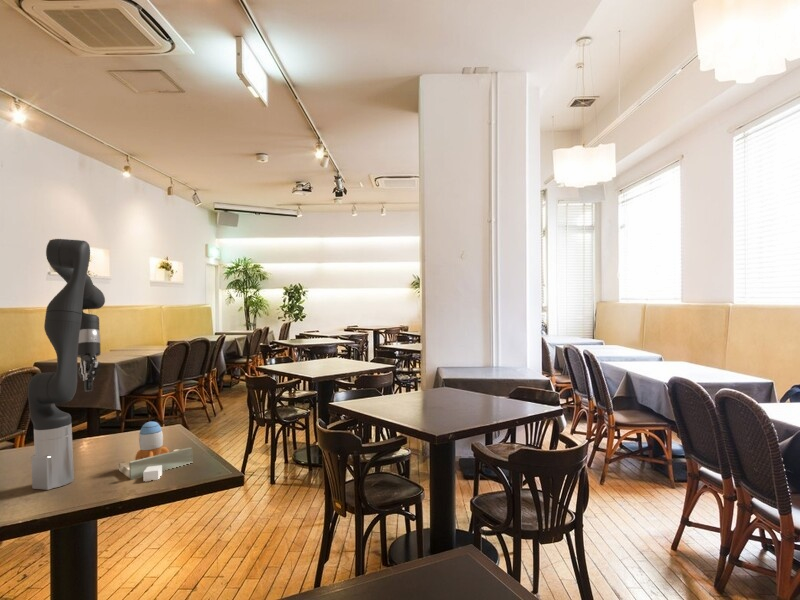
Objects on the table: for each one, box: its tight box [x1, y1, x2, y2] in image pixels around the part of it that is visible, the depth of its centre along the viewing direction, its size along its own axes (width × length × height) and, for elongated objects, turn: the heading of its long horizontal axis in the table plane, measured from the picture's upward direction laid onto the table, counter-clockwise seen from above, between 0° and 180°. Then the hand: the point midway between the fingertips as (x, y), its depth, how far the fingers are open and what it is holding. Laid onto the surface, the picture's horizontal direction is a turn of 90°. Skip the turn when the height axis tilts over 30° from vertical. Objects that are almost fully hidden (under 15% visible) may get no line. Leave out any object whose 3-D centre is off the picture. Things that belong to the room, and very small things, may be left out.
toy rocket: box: [134, 421, 170, 461], centre depth 158 cm, size 10×11×15 cm
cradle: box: [118, 446, 194, 480], centre depth 156 cm, size 13×18×5 cm
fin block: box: [142, 465, 163, 482], centre depth 146 cm, size 5×4×3 cm
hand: (88, 390), depth 172 cm, fingers closed
